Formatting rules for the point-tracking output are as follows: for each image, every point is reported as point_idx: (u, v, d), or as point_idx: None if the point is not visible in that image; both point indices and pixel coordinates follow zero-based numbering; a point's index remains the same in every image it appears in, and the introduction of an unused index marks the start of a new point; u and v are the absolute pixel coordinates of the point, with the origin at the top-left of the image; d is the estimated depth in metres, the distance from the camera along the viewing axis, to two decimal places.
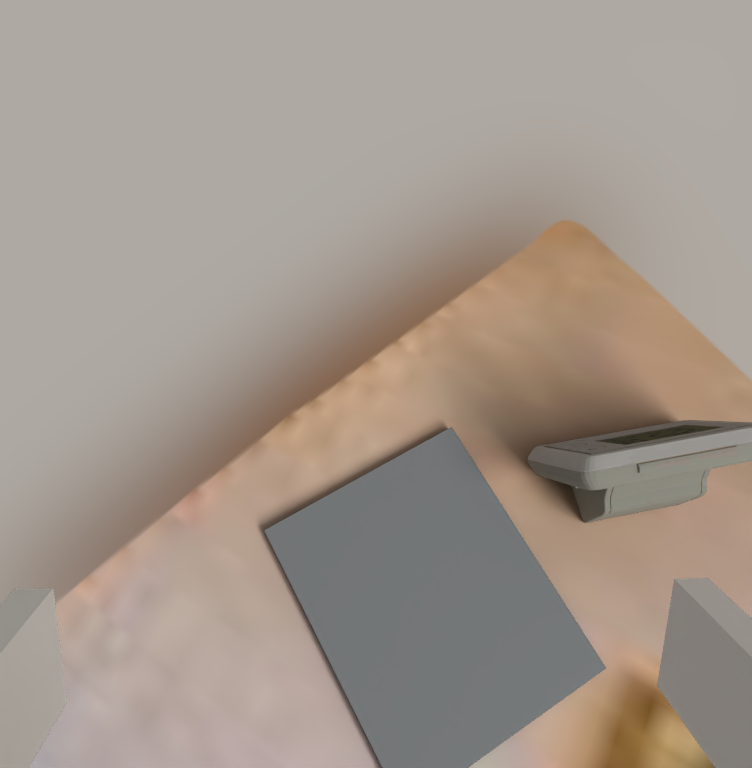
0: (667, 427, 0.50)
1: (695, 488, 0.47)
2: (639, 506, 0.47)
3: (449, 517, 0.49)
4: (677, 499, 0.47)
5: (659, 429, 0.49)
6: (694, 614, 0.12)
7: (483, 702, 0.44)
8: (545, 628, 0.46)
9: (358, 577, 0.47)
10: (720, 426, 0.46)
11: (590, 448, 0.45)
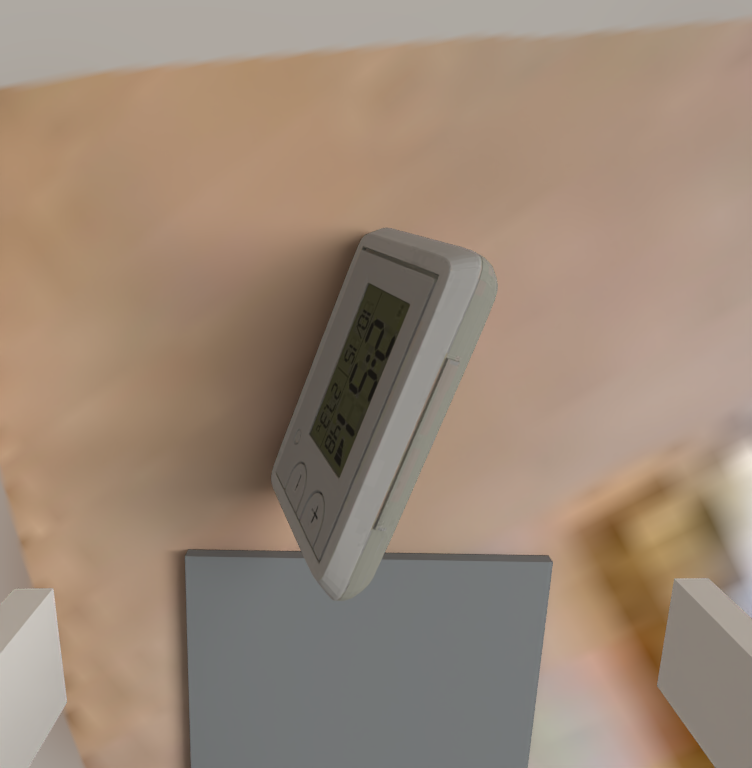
0: (355, 310, 0.29)
1: None
2: None
3: (295, 623, 0.36)
4: None
5: (351, 327, 0.29)
6: (694, 614, 0.12)
7: (492, 695, 0.38)
8: (474, 596, 0.36)
9: (299, 744, 0.38)
10: (404, 298, 0.25)
11: (313, 508, 0.27)
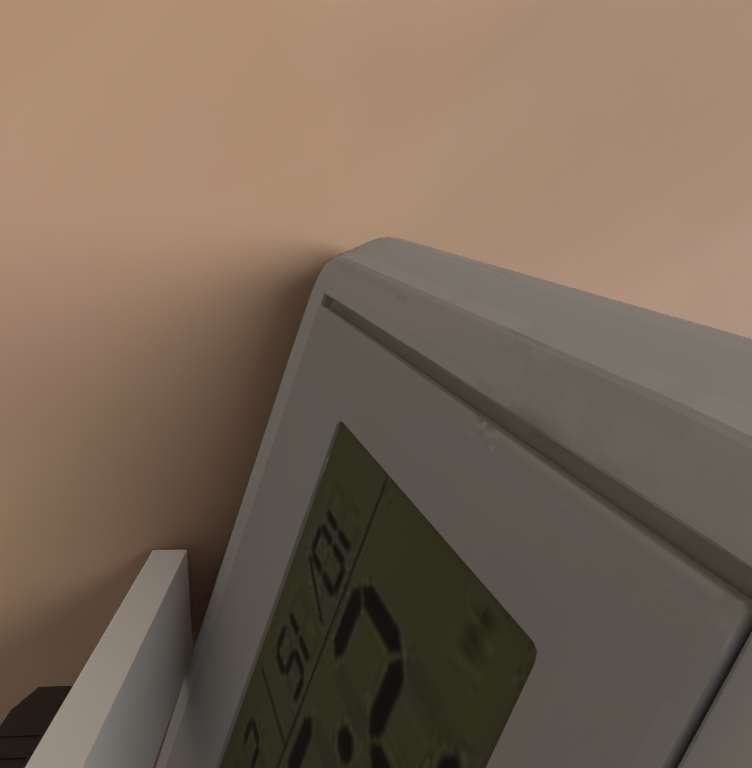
0: (306, 499, 0.09)
1: None
2: None
3: None
4: None
5: (294, 552, 0.09)
6: None
7: None
8: None
9: None
10: (494, 585, 0.05)
11: None
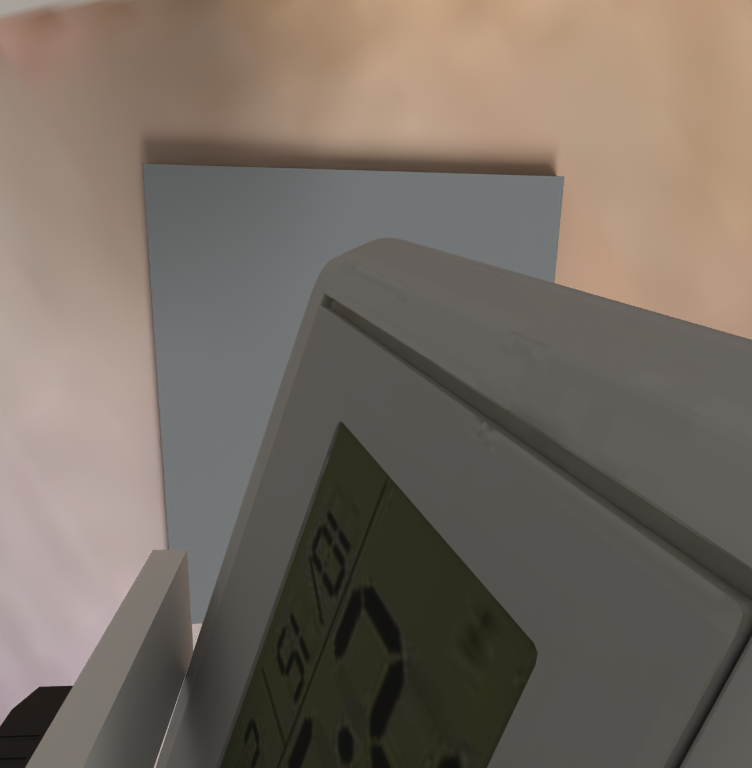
0: (306, 499, 0.09)
1: None
2: None
3: None
4: None
5: (294, 552, 0.09)
6: None
7: None
8: None
9: (262, 329, 0.27)
10: (495, 586, 0.05)
11: None
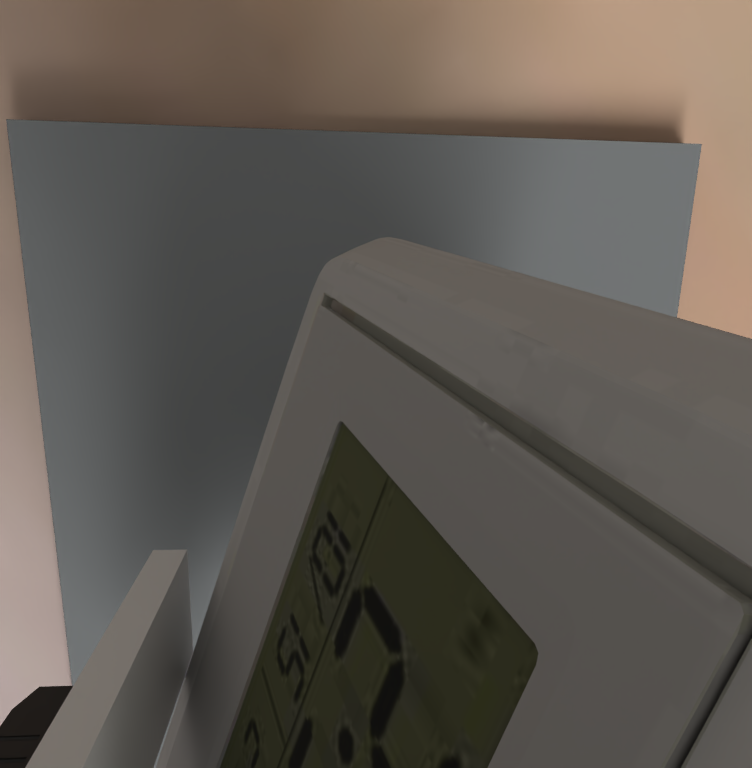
0: (306, 499, 0.09)
1: None
2: None
3: None
4: None
5: (294, 552, 0.09)
6: None
7: None
8: None
9: (214, 389, 0.17)
10: (495, 586, 0.05)
11: None
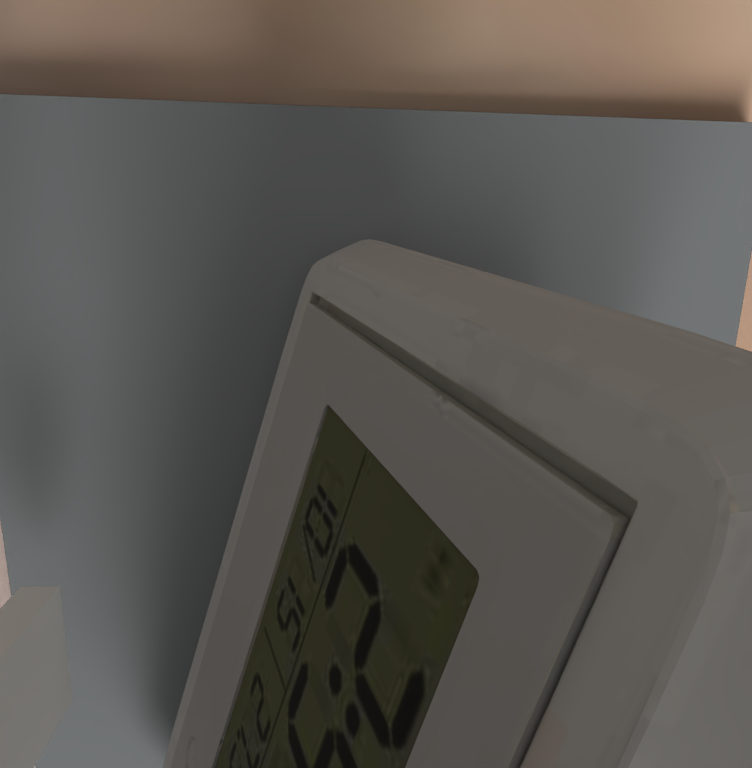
0: (299, 476, 0.11)
1: None
2: None
3: None
4: None
5: (290, 523, 0.11)
6: None
7: None
8: None
9: (194, 413, 0.14)
10: (449, 529, 0.07)
11: None
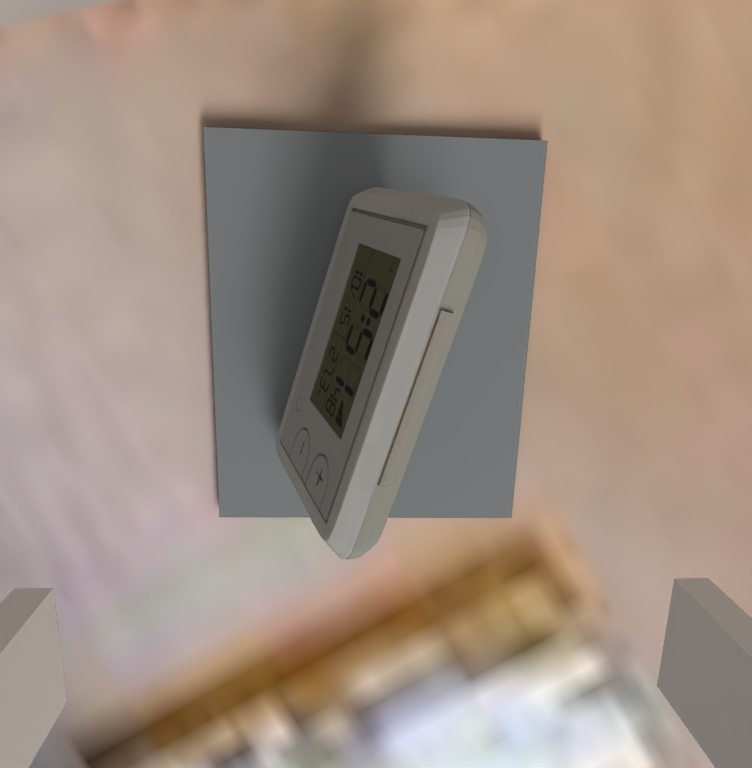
0: (348, 272, 0.29)
1: None
2: None
3: None
4: None
5: (344, 289, 0.29)
6: (694, 614, 0.12)
7: None
8: (478, 448, 0.36)
9: (298, 266, 0.32)
10: (394, 254, 0.25)
11: (317, 471, 0.27)
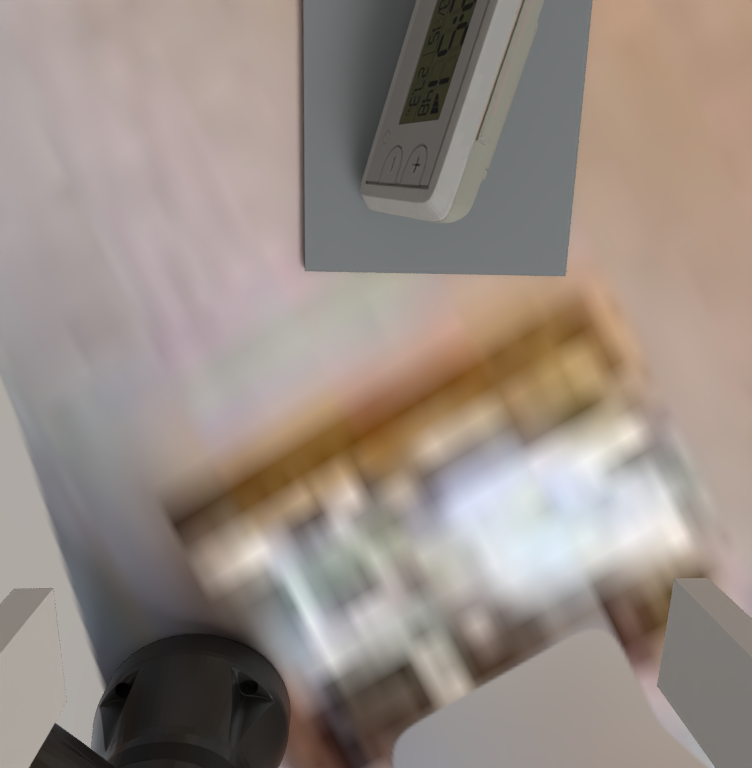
0: (435, 2, 0.33)
1: None
2: (502, 127, 0.34)
3: None
4: (522, 69, 0.34)
5: (431, 17, 0.33)
6: (694, 614, 0.12)
7: (432, 230, 0.40)
8: (537, 206, 0.40)
9: (381, 24, 0.37)
10: None
11: (413, 162, 0.32)
